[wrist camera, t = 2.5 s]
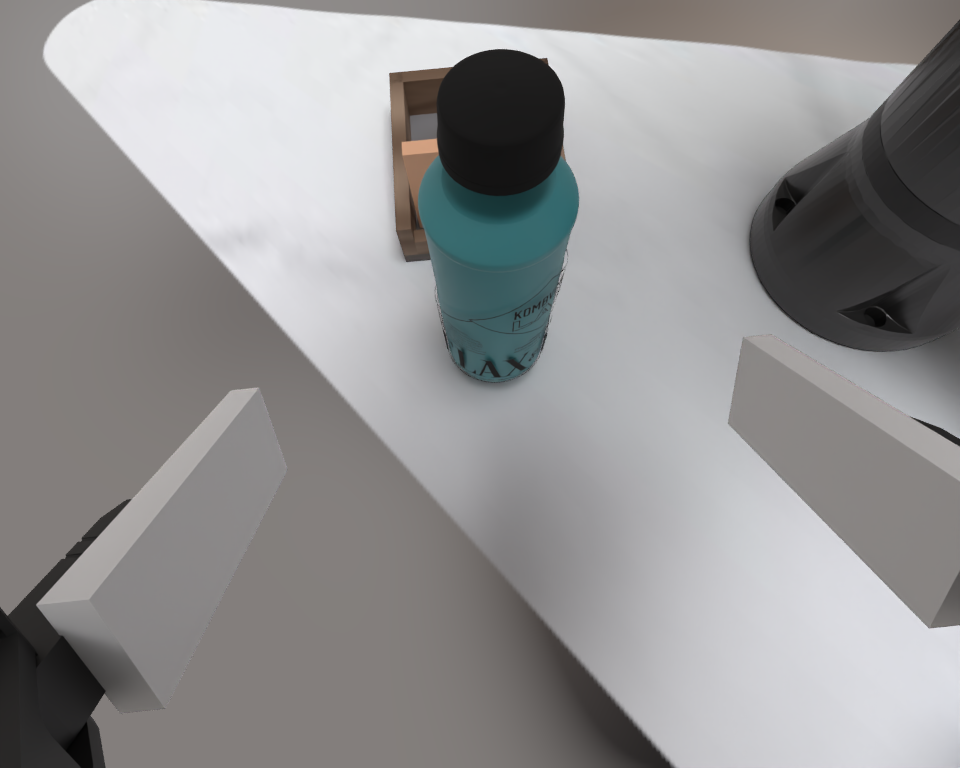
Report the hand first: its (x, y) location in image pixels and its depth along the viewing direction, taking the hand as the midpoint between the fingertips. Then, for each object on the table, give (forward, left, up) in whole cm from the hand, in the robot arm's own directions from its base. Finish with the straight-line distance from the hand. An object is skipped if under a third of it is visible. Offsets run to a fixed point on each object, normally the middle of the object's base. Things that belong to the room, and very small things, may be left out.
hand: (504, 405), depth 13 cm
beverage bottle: (+8, -4, -18) cm, 20 cm away
